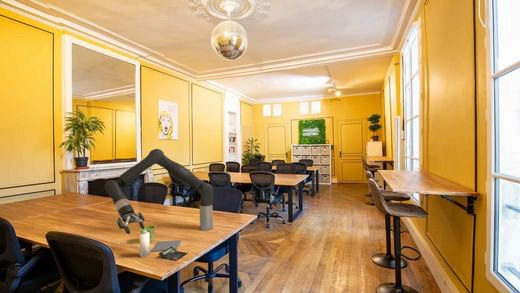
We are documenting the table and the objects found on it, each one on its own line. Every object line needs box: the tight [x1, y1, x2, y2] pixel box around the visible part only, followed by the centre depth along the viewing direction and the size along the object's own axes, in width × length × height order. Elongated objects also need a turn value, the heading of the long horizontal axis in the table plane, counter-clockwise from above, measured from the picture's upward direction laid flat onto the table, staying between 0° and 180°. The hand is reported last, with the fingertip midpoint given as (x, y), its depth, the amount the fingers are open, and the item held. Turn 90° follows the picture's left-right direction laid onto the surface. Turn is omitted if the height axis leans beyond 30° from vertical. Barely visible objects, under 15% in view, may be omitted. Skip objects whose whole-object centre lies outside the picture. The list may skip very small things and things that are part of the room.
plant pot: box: [139, 225, 157, 243], centre depth 154 cm, size 9×9×9 cm
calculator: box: [158, 247, 188, 262], centre depth 133 cm, size 9×12×3 cm
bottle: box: [138, 230, 151, 258], centre depth 134 cm, size 5×5×14 cm
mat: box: [150, 239, 182, 253], centre depth 146 cm, size 14×14×1 cm
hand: (136, 230), depth 138 cm, fingers open, 8 cm apart
